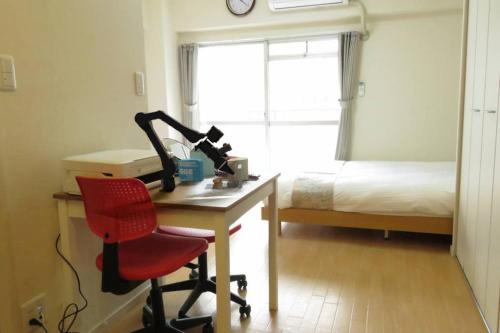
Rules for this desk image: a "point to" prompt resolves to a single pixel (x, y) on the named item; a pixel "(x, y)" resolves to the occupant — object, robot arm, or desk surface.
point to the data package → (191, 170)
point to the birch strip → (233, 166)
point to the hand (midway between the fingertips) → (234, 172)
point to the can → (244, 167)
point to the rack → (230, 185)
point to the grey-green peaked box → (207, 163)
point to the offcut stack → (217, 182)
